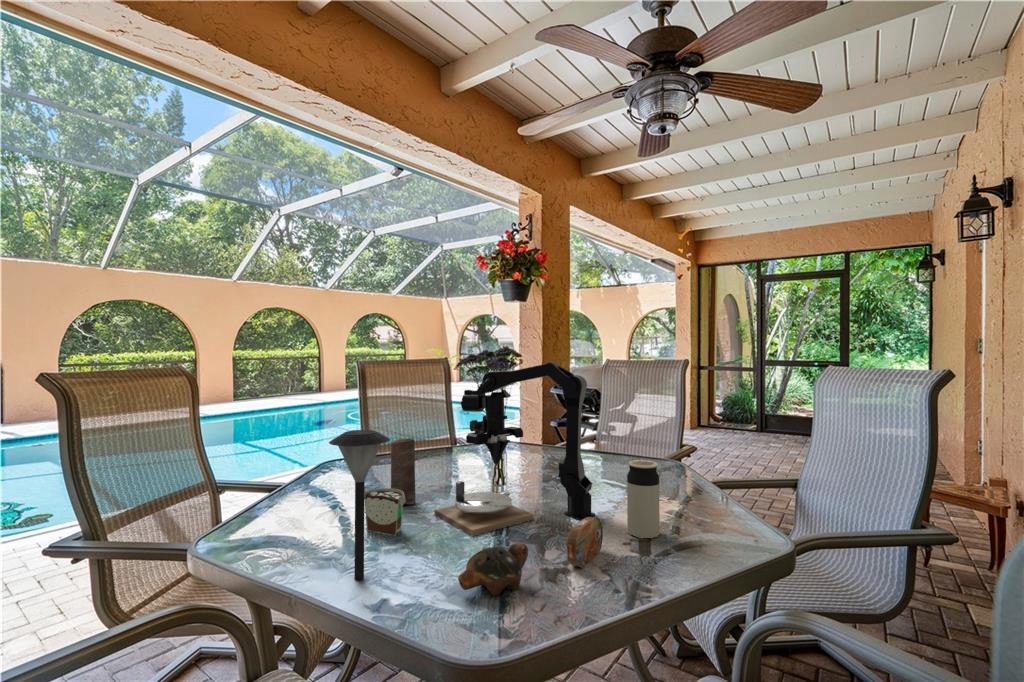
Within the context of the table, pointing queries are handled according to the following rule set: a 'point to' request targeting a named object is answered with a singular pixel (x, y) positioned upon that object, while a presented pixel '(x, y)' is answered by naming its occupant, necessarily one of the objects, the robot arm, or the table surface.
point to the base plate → (482, 519)
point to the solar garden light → (359, 478)
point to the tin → (584, 541)
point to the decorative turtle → (495, 568)
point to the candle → (403, 467)
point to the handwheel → (480, 501)
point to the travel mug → (643, 499)
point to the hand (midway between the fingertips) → (496, 463)
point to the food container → (384, 510)
